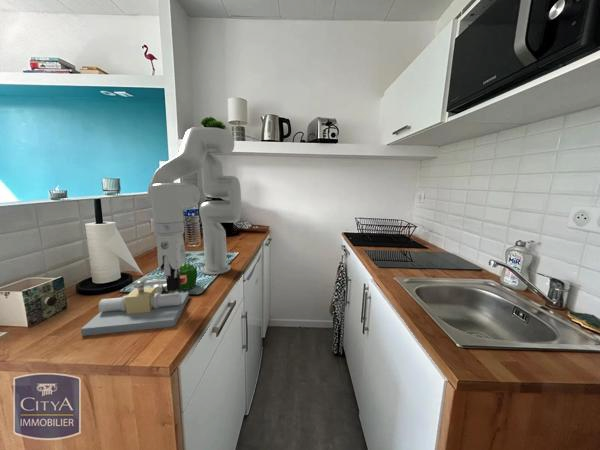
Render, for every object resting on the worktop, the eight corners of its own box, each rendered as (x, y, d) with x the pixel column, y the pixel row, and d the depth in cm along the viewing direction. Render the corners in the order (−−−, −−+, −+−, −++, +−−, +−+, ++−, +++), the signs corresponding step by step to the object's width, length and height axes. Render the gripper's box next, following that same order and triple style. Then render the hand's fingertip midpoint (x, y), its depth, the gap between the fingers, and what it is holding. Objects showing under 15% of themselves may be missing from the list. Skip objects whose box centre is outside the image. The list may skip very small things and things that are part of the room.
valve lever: (132, 294, 71) (131, 283, 71) (136, 289, 74) (135, 279, 74) (185, 288, 75) (185, 278, 75) (187, 284, 78) (186, 274, 78)
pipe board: (117, 303, 81) (114, 283, 80) (189, 297, 86) (187, 278, 84) (82, 335, 64) (78, 310, 62) (174, 326, 68) (172, 302, 67)
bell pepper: (171, 287, 94) (169, 262, 92) (193, 281, 99) (191, 257, 98) (177, 294, 88) (175, 267, 86) (201, 288, 93) (199, 262, 92)
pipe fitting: (158, 298, 86) (174, 289, 92) (156, 288, 85) (173, 279, 91) (142, 294, 89) (159, 286, 95) (140, 284, 88) (157, 276, 94)
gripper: (176, 232, 63) (181, 300, 66) (189, 223, 77) (193, 279, 80) (143, 233, 61) (150, 302, 64) (163, 224, 76) (168, 281, 79)
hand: (174, 289), depth 72 cm, fingers closed
